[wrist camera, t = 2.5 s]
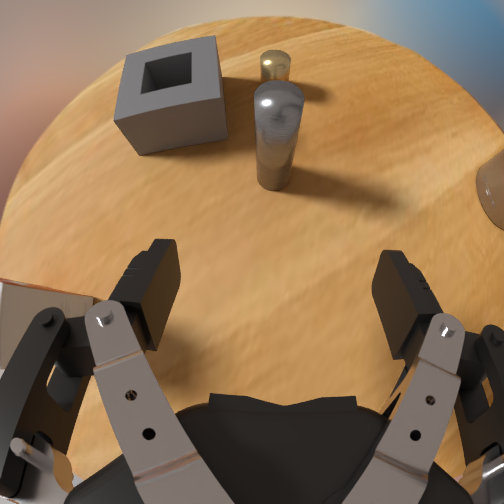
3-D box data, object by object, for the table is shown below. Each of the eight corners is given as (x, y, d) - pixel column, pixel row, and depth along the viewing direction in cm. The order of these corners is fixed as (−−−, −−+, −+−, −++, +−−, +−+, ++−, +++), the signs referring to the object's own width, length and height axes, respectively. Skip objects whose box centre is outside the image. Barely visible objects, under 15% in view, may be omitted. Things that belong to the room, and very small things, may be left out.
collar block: (222, 76, 31) (215, 35, 25) (228, 139, 29) (220, 97, 23) (144, 91, 31) (126, 55, 25) (139, 155, 30) (113, 120, 23)
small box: (95, 295, 27) (3, 281, 14) (90, 355, 25) (0, 372, 13) (42, 284, 27) (-44, 266, 14) (37, 338, 26) (-48, 340, 13)
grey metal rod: (286, 160, 29) (298, 79, 17) (291, 189, 28) (309, 113, 16) (255, 164, 29) (251, 82, 17) (259, 192, 28) (257, 117, 16)
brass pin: (285, 78, 31) (287, 49, 26) (290, 96, 30) (293, 66, 26) (259, 80, 31) (258, 50, 26) (262, 98, 31) (262, 68, 26)
